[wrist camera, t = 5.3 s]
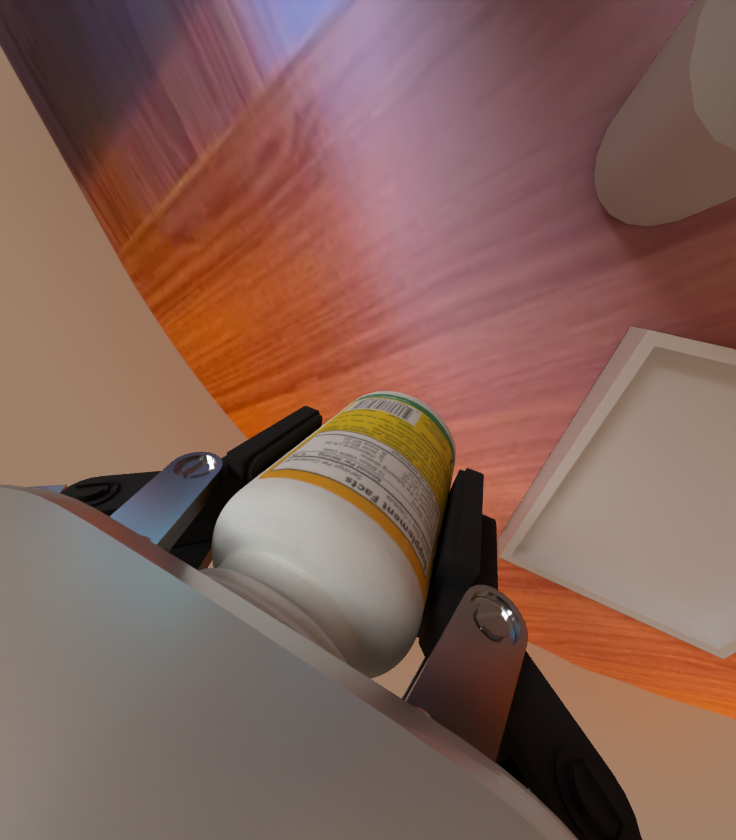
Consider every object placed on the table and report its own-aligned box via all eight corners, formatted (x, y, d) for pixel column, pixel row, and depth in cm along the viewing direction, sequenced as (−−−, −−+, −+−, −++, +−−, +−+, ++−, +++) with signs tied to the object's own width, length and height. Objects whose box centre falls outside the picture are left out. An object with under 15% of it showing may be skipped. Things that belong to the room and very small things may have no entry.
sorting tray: (630, 326, 19) (648, 329, 17) (1018, 414, 15) (1108, 433, 13) (498, 538, 29) (498, 557, 27) (703, 628, 25) (723, 659, 23)
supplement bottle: (407, 362, 11) (136, 584, 2) (484, 472, 11) (467, 951, 3) (318, 425, 13) (54, 626, 5) (383, 510, 14) (233, 812, 6)
